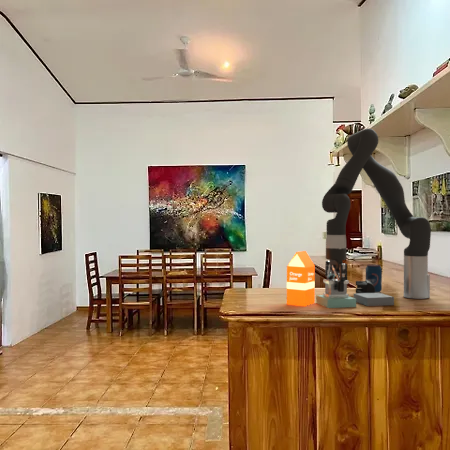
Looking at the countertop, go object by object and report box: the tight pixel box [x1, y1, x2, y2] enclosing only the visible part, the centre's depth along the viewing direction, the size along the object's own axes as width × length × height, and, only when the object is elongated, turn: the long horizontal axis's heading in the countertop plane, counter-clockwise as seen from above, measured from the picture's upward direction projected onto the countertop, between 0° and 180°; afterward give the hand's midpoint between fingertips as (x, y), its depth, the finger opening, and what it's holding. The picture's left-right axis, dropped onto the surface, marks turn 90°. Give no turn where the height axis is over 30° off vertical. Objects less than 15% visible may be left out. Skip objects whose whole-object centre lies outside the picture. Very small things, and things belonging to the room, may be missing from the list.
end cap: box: [355, 279, 375, 293], centre depth 201 cm, size 10×7×7 cm
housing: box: [322, 278, 350, 298], centre depth 182 cm, size 8×5×6 cm, turn 102°
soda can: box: [365, 263, 383, 293], centre depth 215 cm, size 7×7×12 cm
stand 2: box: [353, 292, 395, 307], centre depth 186 cm, size 11×11×3 cm
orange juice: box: [286, 250, 316, 307], centre depth 184 cm, size 8×9×20 cm
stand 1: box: [315, 294, 357, 309], centre depth 182 cm, size 11×11×3 cm
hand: (335, 289), depth 182 cm, fingers open, 8 cm apart
